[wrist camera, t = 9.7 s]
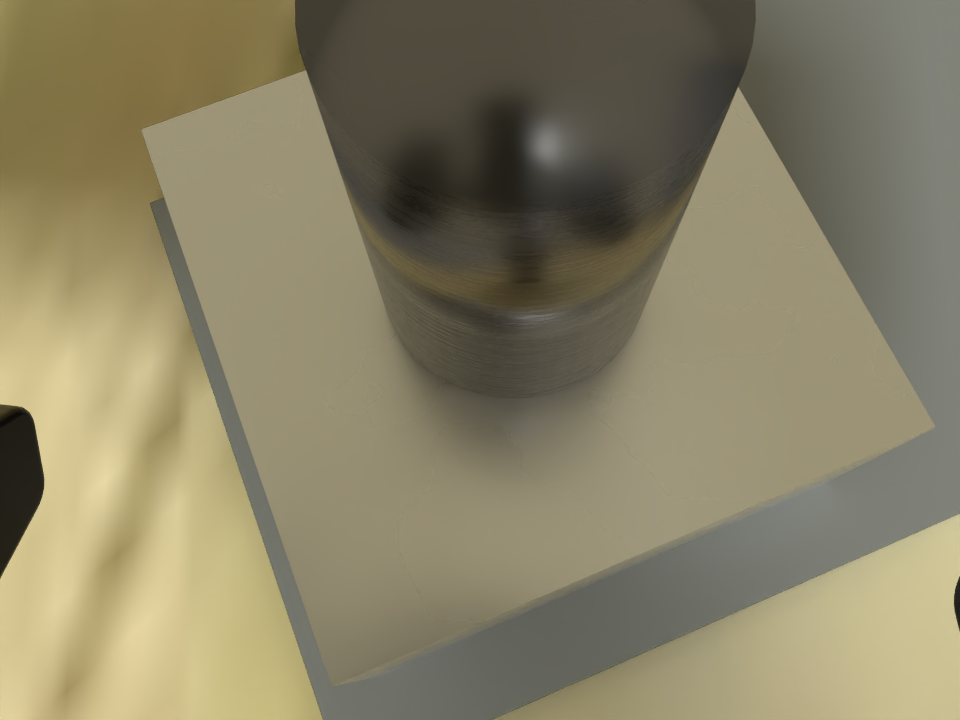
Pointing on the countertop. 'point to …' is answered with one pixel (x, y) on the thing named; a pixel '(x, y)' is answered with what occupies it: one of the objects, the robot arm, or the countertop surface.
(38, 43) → the countertop surface
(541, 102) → the grey cylinder on plate
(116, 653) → the countertop surface
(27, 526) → the robot arm
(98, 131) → the countertop surface
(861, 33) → the slate mat
